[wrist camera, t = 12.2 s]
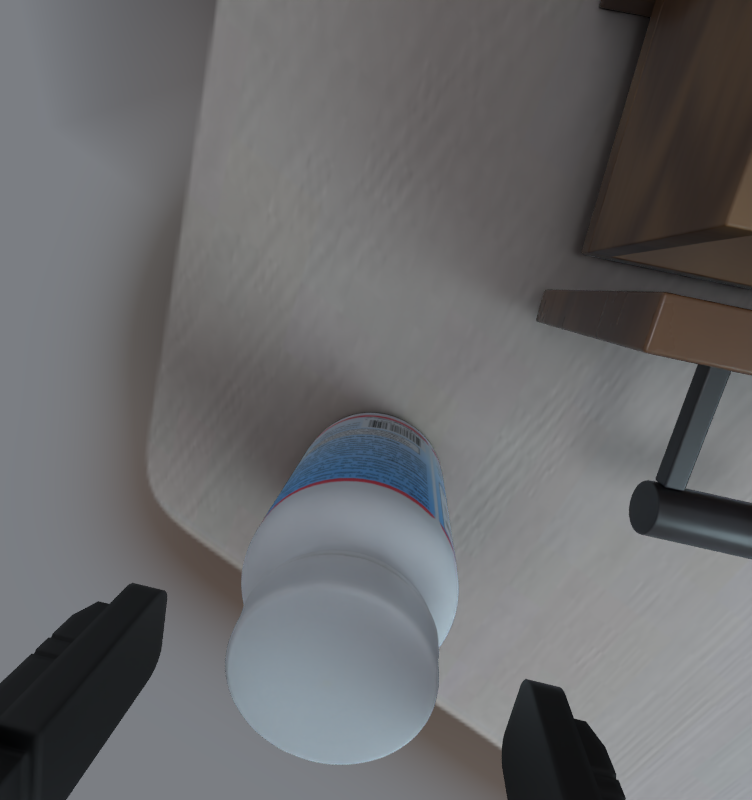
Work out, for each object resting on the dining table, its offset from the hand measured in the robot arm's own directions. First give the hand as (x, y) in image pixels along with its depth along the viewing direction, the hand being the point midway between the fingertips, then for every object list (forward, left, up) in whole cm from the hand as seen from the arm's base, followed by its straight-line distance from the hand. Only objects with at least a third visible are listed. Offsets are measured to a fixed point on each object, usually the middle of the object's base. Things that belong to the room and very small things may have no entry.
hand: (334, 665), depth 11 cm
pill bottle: (0, 0, -11) cm, 11 cm away
